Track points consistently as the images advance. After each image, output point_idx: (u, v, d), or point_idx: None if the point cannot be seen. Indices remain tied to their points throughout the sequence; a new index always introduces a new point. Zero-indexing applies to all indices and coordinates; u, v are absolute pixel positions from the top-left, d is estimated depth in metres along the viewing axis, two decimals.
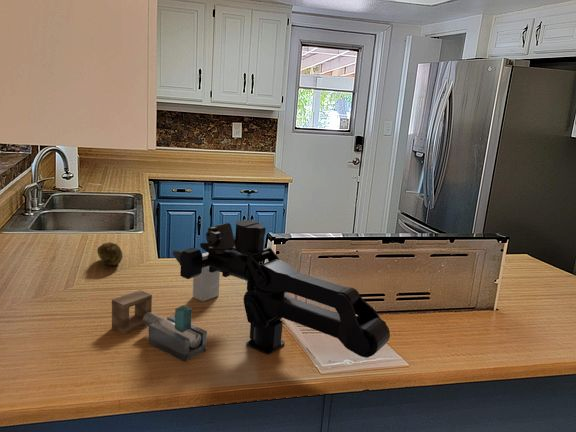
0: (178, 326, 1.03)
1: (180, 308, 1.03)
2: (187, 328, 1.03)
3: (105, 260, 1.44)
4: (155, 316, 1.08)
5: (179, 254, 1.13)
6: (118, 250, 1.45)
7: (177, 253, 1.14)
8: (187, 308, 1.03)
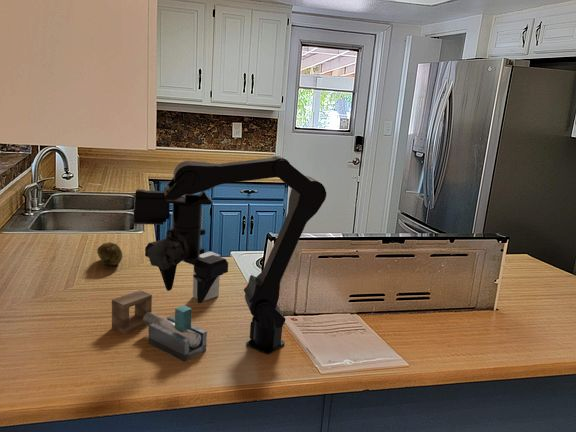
0: (178, 326, 1.03)
1: (180, 308, 1.03)
2: (187, 328, 1.03)
3: (105, 260, 1.44)
4: (155, 316, 1.08)
5: (202, 290, 0.98)
6: (118, 250, 1.45)
7: (201, 294, 0.98)
8: (187, 308, 1.03)
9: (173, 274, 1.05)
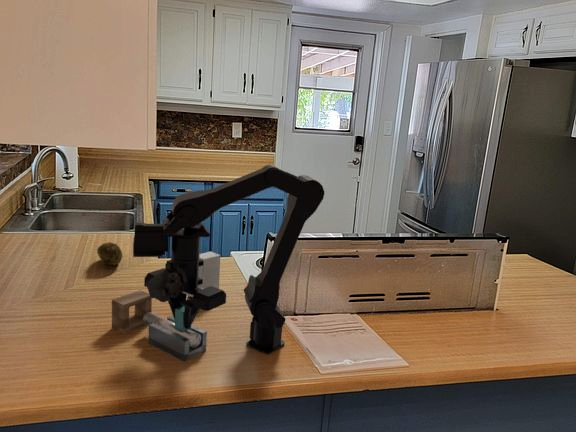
0: (178, 326, 1.03)
1: (180, 308, 1.03)
2: None
3: (105, 260, 1.44)
4: (155, 316, 1.08)
5: (190, 316, 1.01)
6: (118, 250, 1.45)
7: (189, 320, 1.02)
8: None
9: None
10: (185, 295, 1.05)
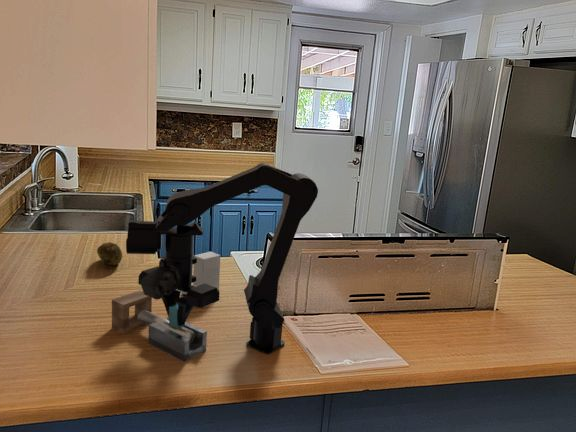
0: (172, 323, 1.04)
1: (174, 305, 1.04)
2: None
3: (105, 260, 1.44)
4: (150, 314, 1.09)
5: (183, 313, 1.02)
6: (118, 250, 1.45)
7: (183, 317, 1.03)
8: None
9: None
10: (179, 293, 1.06)
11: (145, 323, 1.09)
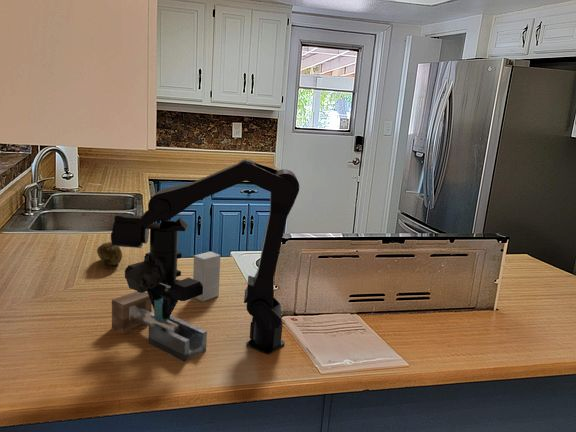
0: (157, 317, 1.06)
1: (159, 299, 1.06)
2: (166, 319, 1.07)
3: (105, 260, 1.44)
4: (136, 307, 1.12)
5: (168, 307, 1.05)
6: (118, 250, 1.45)
7: (167, 310, 1.05)
8: None
9: None
10: (164, 287, 1.09)
11: (131, 317, 1.11)
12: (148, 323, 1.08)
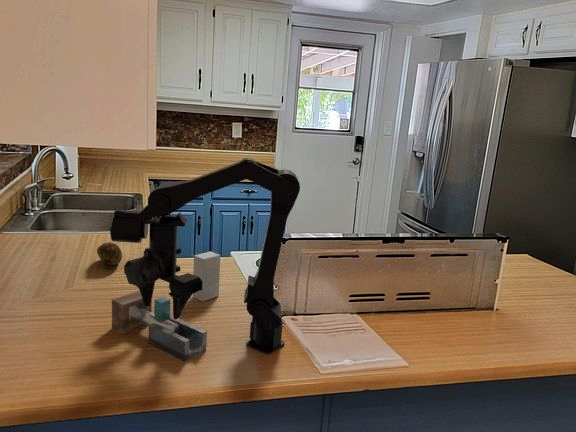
0: (157, 317, 1.06)
1: (159, 299, 1.06)
2: (166, 319, 1.07)
3: (105, 260, 1.44)
4: (136, 307, 1.12)
5: (178, 307, 1.03)
6: (118, 250, 1.45)
7: (177, 311, 1.03)
8: (166, 299, 1.06)
9: (151, 290, 1.10)
10: None
11: (131, 317, 1.11)
12: (148, 323, 1.08)
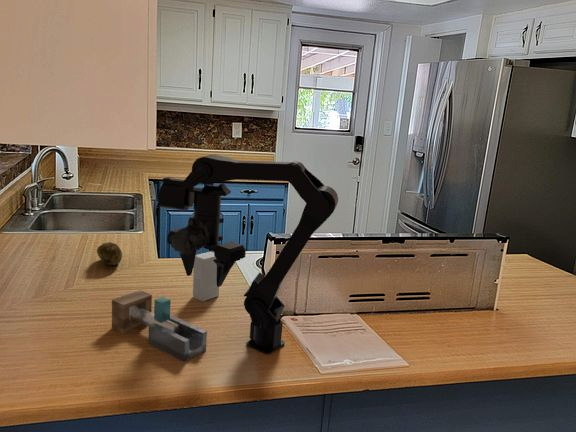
0: (157, 317, 1.06)
1: (159, 299, 1.06)
2: (166, 319, 1.07)
3: (104, 260, 1.44)
4: (136, 307, 1.12)
5: (222, 274, 1.05)
6: (117, 250, 1.45)
7: (221, 278, 1.06)
8: (166, 299, 1.06)
9: (193, 260, 1.12)
10: (195, 249, 1.13)
11: (131, 317, 1.11)
12: (148, 323, 1.08)
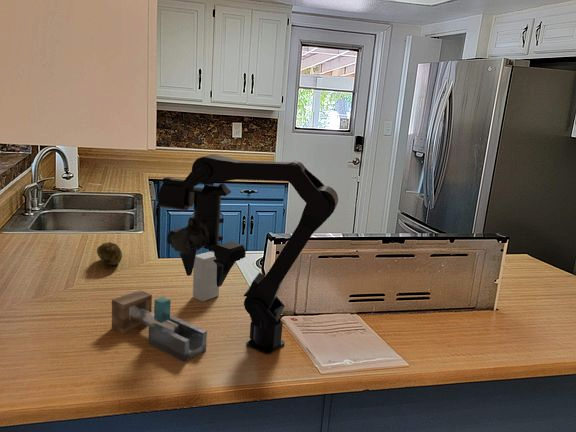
0: (157, 317, 1.06)
1: (159, 299, 1.06)
2: (166, 319, 1.07)
3: (104, 260, 1.44)
4: (136, 307, 1.12)
5: (222, 274, 1.05)
6: (117, 250, 1.45)
7: (221, 278, 1.06)
8: (166, 299, 1.06)
9: (193, 260, 1.12)
10: (195, 249, 1.13)
11: (131, 317, 1.11)
12: (148, 323, 1.08)
